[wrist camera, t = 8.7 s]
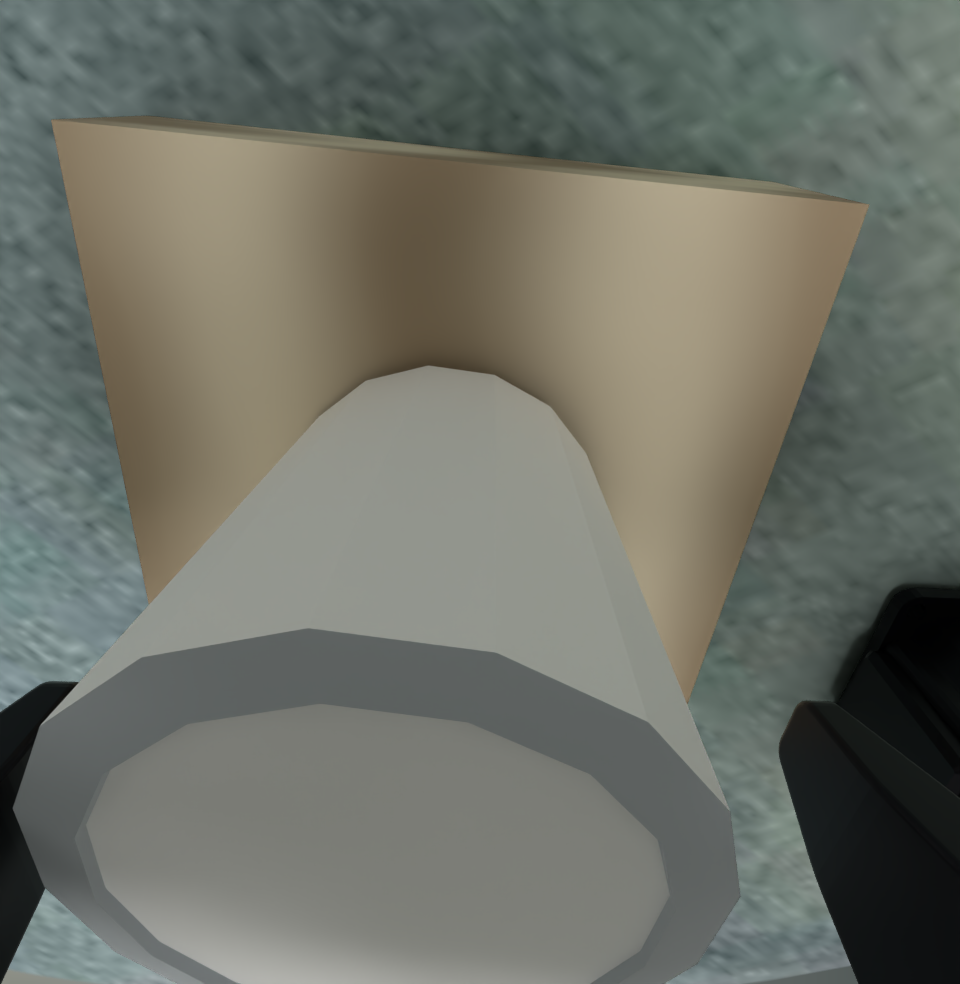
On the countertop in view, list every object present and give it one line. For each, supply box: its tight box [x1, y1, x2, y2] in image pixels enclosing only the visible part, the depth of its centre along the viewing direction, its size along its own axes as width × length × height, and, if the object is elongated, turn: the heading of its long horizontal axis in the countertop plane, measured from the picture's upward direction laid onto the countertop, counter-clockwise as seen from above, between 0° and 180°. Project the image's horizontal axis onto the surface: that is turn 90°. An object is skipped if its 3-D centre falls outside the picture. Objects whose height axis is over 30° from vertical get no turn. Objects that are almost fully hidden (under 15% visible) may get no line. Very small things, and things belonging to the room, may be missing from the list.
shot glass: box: [13, 365, 741, 984], centre depth 9 cm, size 7×7×7 cm
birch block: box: [51, 116, 869, 704], centre depth 14 cm, size 12×12×4 cm
